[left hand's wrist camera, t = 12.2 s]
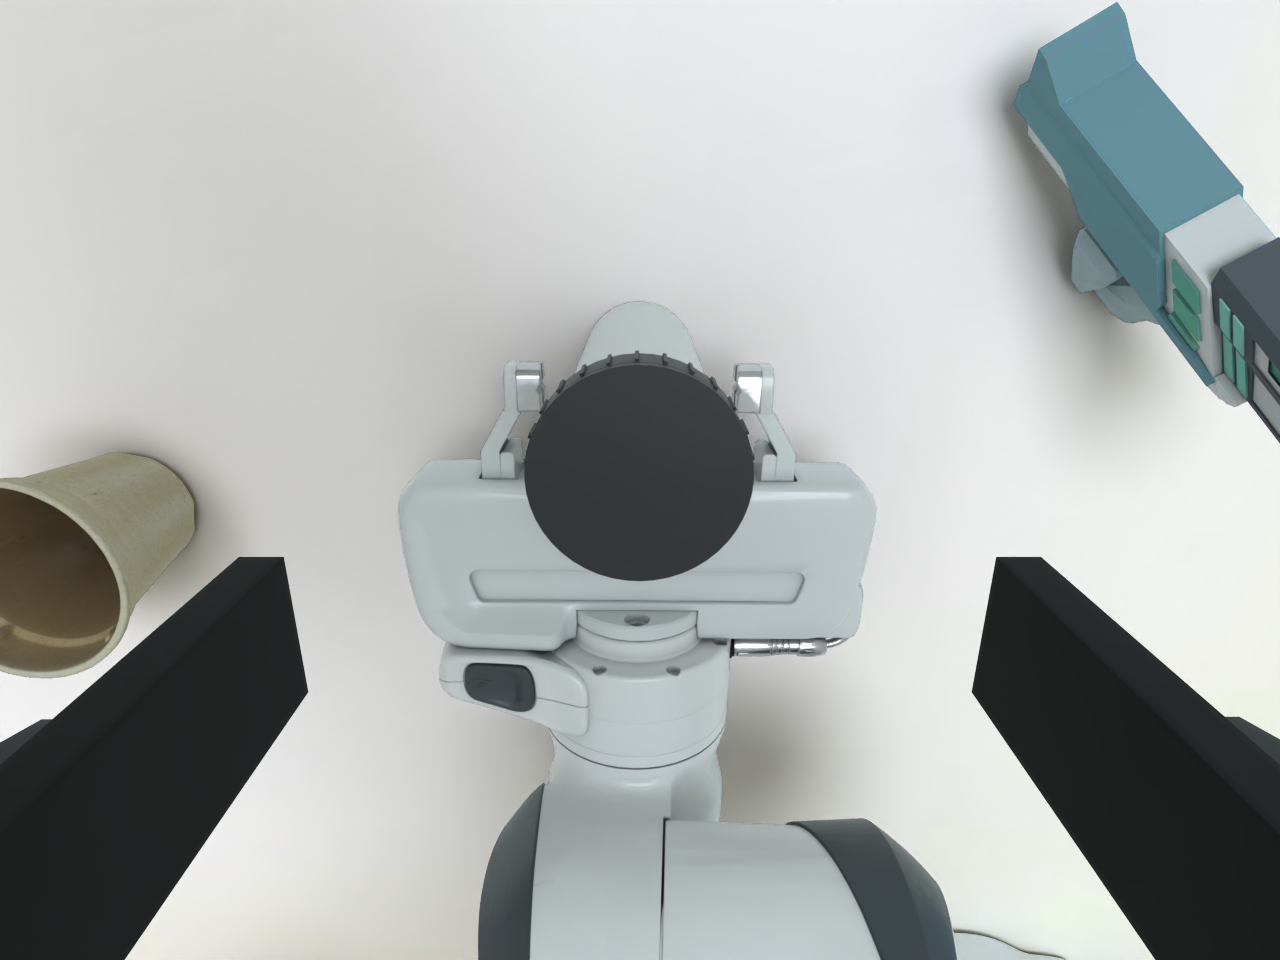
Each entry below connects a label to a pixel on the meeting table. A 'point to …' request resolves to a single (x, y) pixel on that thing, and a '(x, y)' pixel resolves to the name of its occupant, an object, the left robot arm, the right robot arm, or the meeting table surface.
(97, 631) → the flower pot
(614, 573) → the lid
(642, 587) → the right robot arm
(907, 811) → the meeting table surface
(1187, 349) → the toy gun
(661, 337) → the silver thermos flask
